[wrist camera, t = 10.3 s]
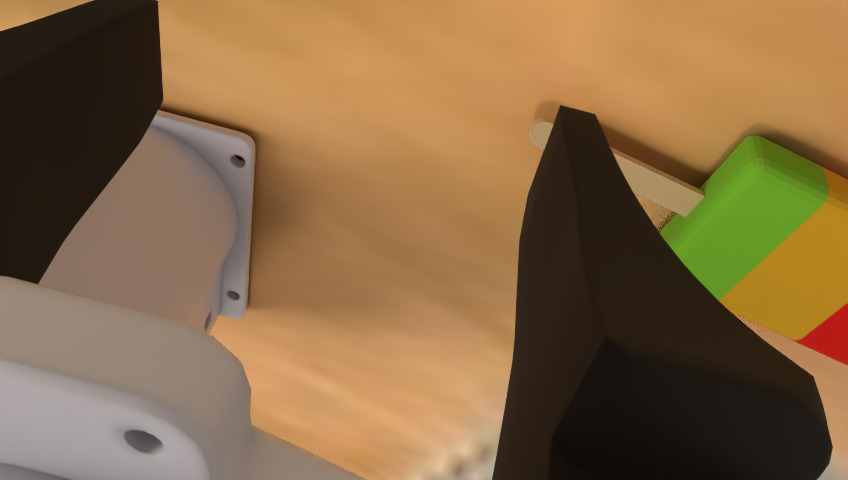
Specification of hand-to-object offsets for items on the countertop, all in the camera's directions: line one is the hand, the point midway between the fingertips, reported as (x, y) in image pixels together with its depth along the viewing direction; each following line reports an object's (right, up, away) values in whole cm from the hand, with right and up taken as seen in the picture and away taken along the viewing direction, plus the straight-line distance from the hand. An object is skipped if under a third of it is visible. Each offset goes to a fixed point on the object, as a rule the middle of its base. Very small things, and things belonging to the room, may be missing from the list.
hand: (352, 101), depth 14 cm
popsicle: (+12, -1, +12) cm, 16 cm away
